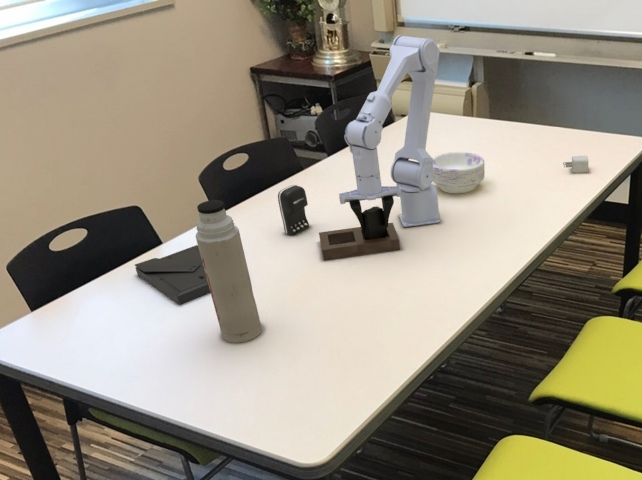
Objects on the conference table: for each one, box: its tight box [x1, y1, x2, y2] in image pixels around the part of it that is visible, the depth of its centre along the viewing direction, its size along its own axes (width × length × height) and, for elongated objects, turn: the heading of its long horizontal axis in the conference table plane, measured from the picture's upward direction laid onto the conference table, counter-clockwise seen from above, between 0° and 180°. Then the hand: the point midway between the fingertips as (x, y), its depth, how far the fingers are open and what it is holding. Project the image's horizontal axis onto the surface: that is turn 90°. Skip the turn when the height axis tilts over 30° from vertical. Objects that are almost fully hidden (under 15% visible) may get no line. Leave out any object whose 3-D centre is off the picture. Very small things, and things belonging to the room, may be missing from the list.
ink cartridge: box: [362, 205, 386, 240], centre depth 193 cm, size 5×2×8 cm, turn 137°
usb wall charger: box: [562, 155, 589, 174], centre depth 229 cm, size 4×7×4 cm, turn 89°
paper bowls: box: [432, 151, 486, 194], centre depth 221 cm, size 15×15×8 cm
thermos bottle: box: [195, 199, 263, 344], centre depth 155 cm, size 8×8×28 cm
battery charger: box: [277, 184, 310, 236], centre depth 200 cm, size 7×4×11 cm, turn 146°
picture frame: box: [134, 244, 211, 305], centre depth 184 cm, size 16×3×21 cm
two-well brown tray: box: [318, 222, 401, 261], centre depth 194 cm, size 18×10×3 cm, turn 104°
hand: (374, 227), depth 193 cm, fingers closed on ink cartridge, 5 cm apart
